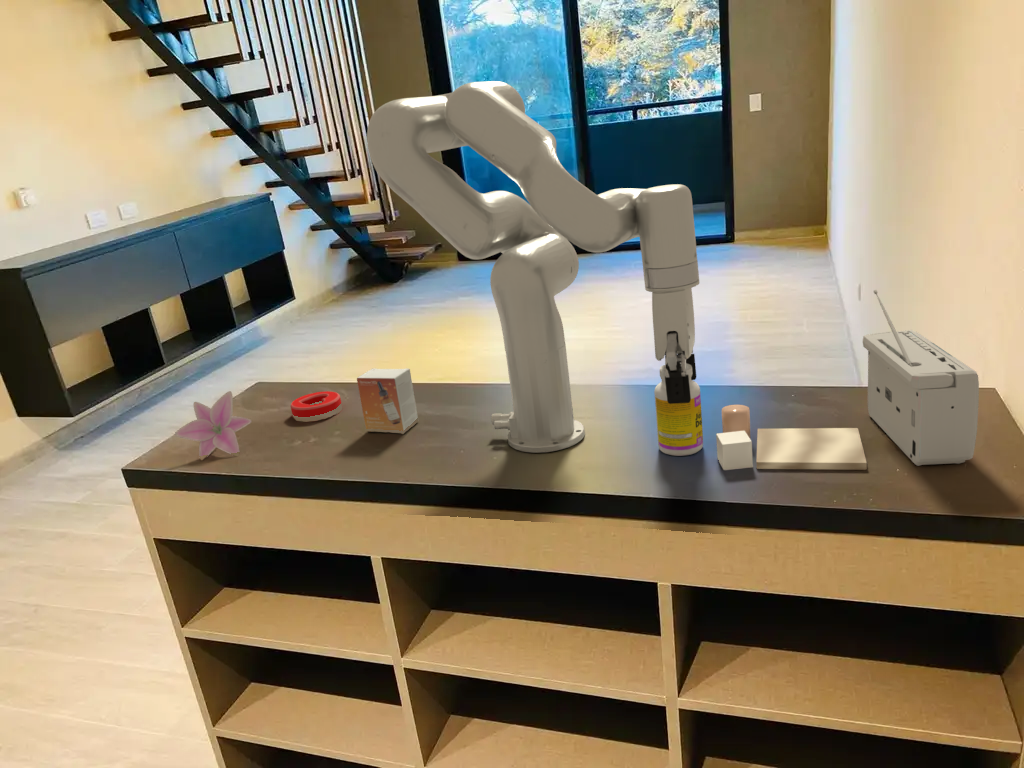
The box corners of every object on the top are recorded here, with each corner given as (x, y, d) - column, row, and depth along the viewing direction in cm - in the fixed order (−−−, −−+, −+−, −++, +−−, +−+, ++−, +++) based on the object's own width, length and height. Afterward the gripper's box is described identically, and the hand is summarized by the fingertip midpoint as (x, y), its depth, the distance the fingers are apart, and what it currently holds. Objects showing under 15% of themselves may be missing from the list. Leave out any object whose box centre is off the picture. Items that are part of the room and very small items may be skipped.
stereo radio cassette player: (978, 467, 105) (986, 317, 99) (911, 472, 106) (915, 324, 100) (915, 409, 125) (919, 282, 118) (859, 414, 126) (860, 288, 119)
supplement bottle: (703, 456, 118) (699, 373, 114) (657, 458, 120) (651, 376, 116) (703, 438, 124) (698, 358, 120) (659, 440, 126) (653, 361, 122)
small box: (365, 433, 145) (354, 377, 142) (381, 421, 150) (371, 367, 147) (404, 434, 142) (394, 378, 139) (419, 422, 147) (410, 367, 144)
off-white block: (723, 470, 113) (722, 444, 112) (717, 459, 117) (716, 433, 116) (752, 467, 113) (751, 441, 112) (745, 456, 117) (744, 430, 115)
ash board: (756, 468, 112) (756, 462, 112) (757, 434, 123) (757, 428, 123) (866, 469, 108) (866, 462, 108) (857, 434, 119) (857, 428, 118)
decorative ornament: (290, 413, 162) (287, 398, 161) (338, 401, 165) (335, 387, 164) (296, 427, 154) (293, 411, 153) (346, 415, 157) (343, 399, 156)
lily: (175, 463, 146) (162, 428, 139) (211, 417, 154) (200, 382, 147) (235, 481, 144) (225, 447, 137) (268, 434, 152) (260, 399, 145)
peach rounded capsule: (722, 445, 121) (720, 414, 119) (723, 435, 125) (722, 404, 123) (750, 445, 120) (749, 414, 118) (750, 435, 123) (749, 404, 122)
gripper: (652, 266, 123) (663, 373, 128) (635, 292, 107) (649, 413, 112) (703, 261, 120) (712, 370, 125) (693, 287, 105) (704, 411, 110)
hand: (682, 390), depth 119 cm, fingers open, 9 cm apart
